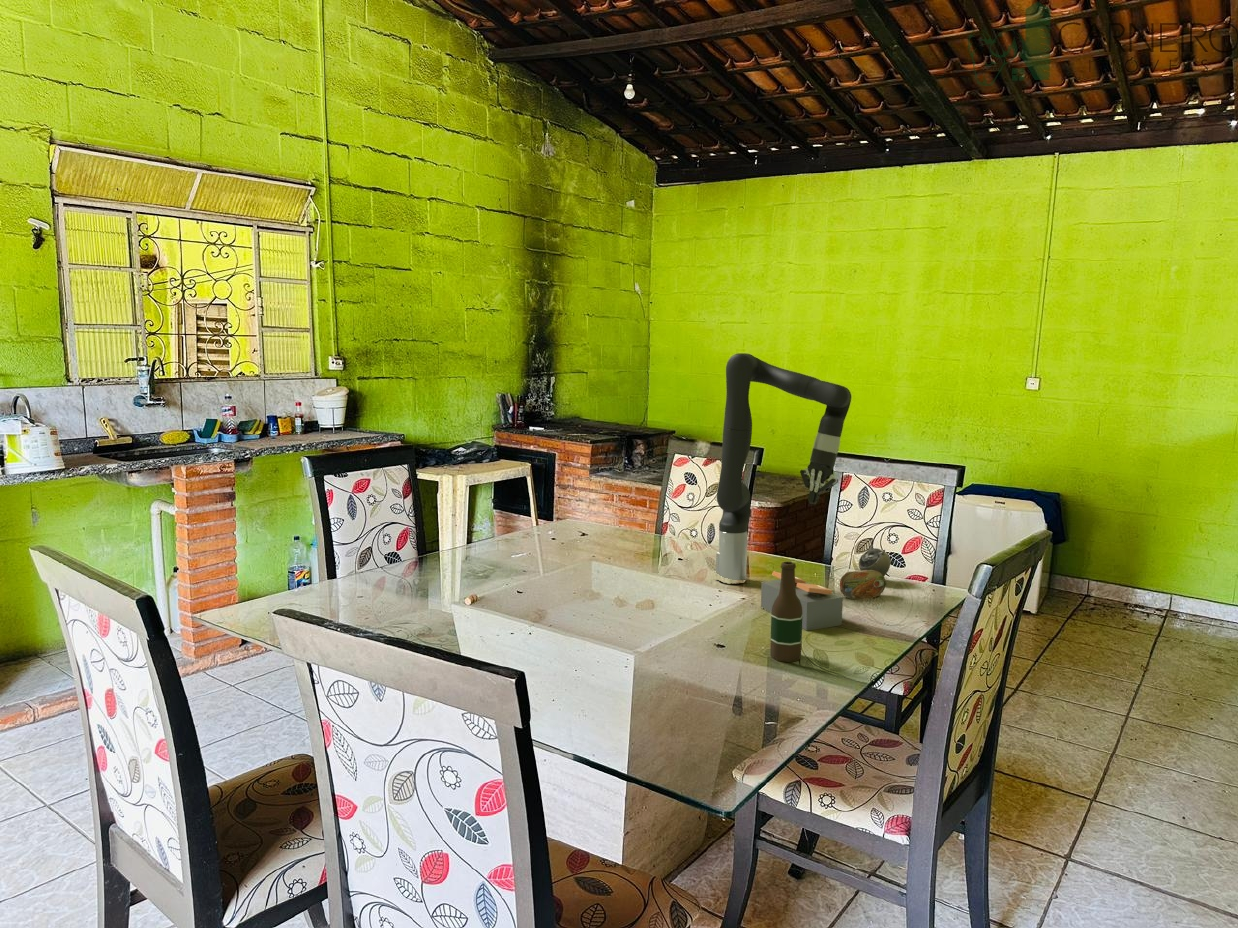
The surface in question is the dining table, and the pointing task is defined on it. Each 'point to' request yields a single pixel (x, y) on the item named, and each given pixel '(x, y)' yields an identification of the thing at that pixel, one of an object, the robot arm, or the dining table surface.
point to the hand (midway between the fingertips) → (812, 503)
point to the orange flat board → (814, 588)
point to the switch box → (807, 605)
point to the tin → (862, 584)
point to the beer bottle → (786, 619)
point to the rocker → (795, 577)
